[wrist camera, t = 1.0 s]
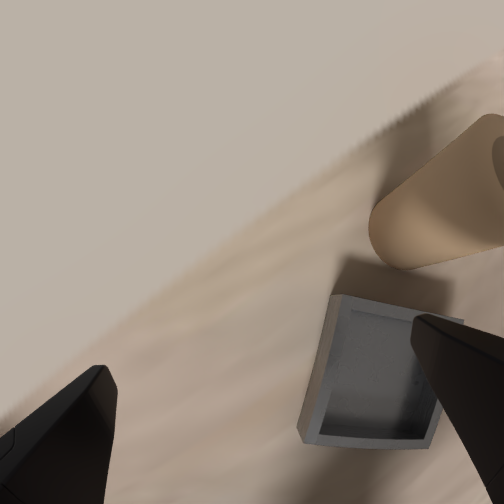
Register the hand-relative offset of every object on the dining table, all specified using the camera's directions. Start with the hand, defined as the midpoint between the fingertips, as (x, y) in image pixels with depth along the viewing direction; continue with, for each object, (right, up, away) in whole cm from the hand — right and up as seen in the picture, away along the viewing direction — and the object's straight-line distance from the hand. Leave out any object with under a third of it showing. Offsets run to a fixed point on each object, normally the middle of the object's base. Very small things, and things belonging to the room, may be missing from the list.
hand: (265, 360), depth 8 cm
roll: (+11, +4, +15) cm, 19 cm away
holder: (+9, -6, +13) cm, 17 cm away
